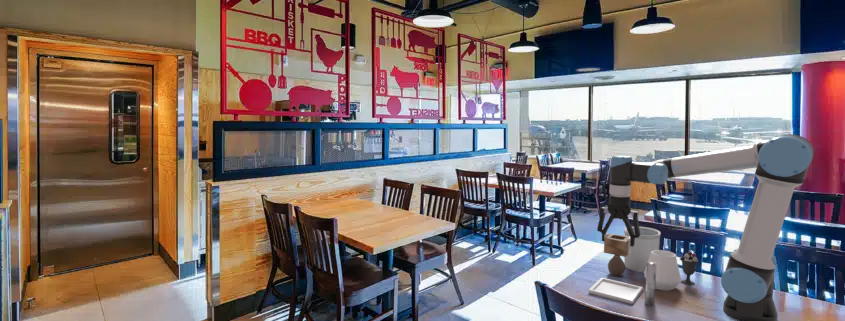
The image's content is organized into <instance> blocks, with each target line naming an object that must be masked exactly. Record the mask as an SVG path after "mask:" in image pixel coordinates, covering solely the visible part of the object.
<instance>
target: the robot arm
mask: <svg viewBox="0 0 845 321" xmlns="http://www.w3.org/2000/svg"><path fill="white" fill-rule="evenodd" d="M814 157H815V149H814V146H813V144H812V143H811V142H810V141H809V139H807V138H805V137H803V136H801V135H797V134H783V135H782V134H781V135H779V136H778V135H777V136H775V137H772V138H770V139H767V140H761V141H756V142H755V143H754V144H753V145H750V146H749V145H748V146H742V147H736V148H735V147H734V148H729V149H728V148H727V149H722V150H715V151H710V152H709V151H708V152H703V153H696V154H690V155H689V154H688V155H683V156H677V157H672V158H671V157H670V158H660V159H656V160H653V161H650V162H641V161H640V162H638V161H633V156H630V155H614V156H612V157H611V158H610V167H609V173H610V174H609V192H608V193H609V196H608V206H606V207H605V206H602V207H600V209H599V210H600V216H599V221H598V223H597V224H598V225H597V228H596V230H597V232H600V233H601V241H602V242H604V238H605V237H606V236H608V235H609V234H610V233H608V230H609V228H610V226H611V224H612V222H613V221H614V220H615V219H619V220H622V221H623V223H624V225H625V228H627V230H628V233H629V235H630V237H629V238H628V253H627V255H630V254H631V249H632V246H634V245H635V238H638V237H639V236H640V229H639V227H640V224H639V223H640V222H639V213H640V212H639V211H638V210H637V211H635V210H632V209H631V193H632V182H634V183H635V182H637V183H645V184H652V185H664V184H666V182H667V181H668V179H674V178H681V177H687V176H688V177H689V176H696V175H697V176H698V175H706V174H715V173H723V172H731V171H739V170H747V169H748V170H749V169H755V171H754V176H755V177H756V178H757V179H758V183H757V186H756V190H755V193H754V196H753V200H752V201H751V202H752V203H751V206H750V209H749V211H748V216H747V219H746V223H745V225H744V228H743V232H742V235H741V239H740V242H739V246H738V248H735V249H734V250H733V251H731V252H730V255H729V258H728V260H727V261H728V262H727V264H726V268H725V270H724V271H723V273H722V274H721V279H720V283H721V287H722V289H723V291H724V292H725V293H726V294H727V295H726V297H725V299H724V301H723V304H722V305H723V306H722V309H723V311H724V313H726V314H727V315H728V316H730V317H732V318H734V319H737V320H739V321H778V316H779V314H778V312H777V308H776V307H777V306H776V305H775V302H774V297H773V295H774V282H775V272H776V266H777V263H776V256H774V252H775V248H776V246H777V242H778V239H779V236H780V233H781V231H782V228H783V224H784V222H785V221H784V220H785V218H786V215H787V212H788V210H789V206H790V203H791V200H792V197H793V193H794V191H795V188H797V187H800V186H802V185H803V184H804V182H805V180H806V176H807V172H808V170H809V167H810V164H811V162H812V161H813V159H814ZM607 212H608V213H609V214H610V216H609V217H608V220H607V221H606V224H604V223H605V218H606V214H607ZM630 214H631V217H632V222H633V226H632V224H631V222H630V219H629V215H630ZM632 227H634V230H635V234H634V231H633V229H632Z"/></svg>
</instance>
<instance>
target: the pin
mask: <svg viewBox="0 0 845 321" xmlns="http://www.w3.org/2000/svg"><path fill="white" fill-rule="evenodd" d="M656 267H657V264H656V263H654V262H647V269H646V278H645V293H644V295H645V296H644V305H645V306H647V307H655V306H656V305H655V304H656V288H655V287H656Z"/></svg>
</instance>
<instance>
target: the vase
mask: <svg viewBox="0 0 845 321" xmlns="http://www.w3.org/2000/svg"><path fill="white" fill-rule="evenodd" d="M607 270H608V272H609V274H610V275H611V276H614V277H621V276H623V275H624V274H625V271H626V267H625V261H624V260H623V259H622V256H618V255H613V256H612V257H611V258H610V260H609V261H608V264H607Z"/></svg>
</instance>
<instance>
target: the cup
mask: <svg viewBox="0 0 845 321" xmlns="http://www.w3.org/2000/svg"><path fill="white" fill-rule="evenodd" d="M648 262H654V263H656V264H657V267H656V287H655V290H661V291H674V290H675V289H676V287H678V285H680V283H682V282H681V281H682V278H681V274H680V273H681V272H680V269H679V264H678V259H677V256H676V253H674V252H672V251H669V250H663V249H659V250H654V251H651V254H650V257H649V260H648ZM646 269H647V265H646V268H645V271H644V272H643V273H644V274H643V276H644V278H645V279H646Z"/></svg>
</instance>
